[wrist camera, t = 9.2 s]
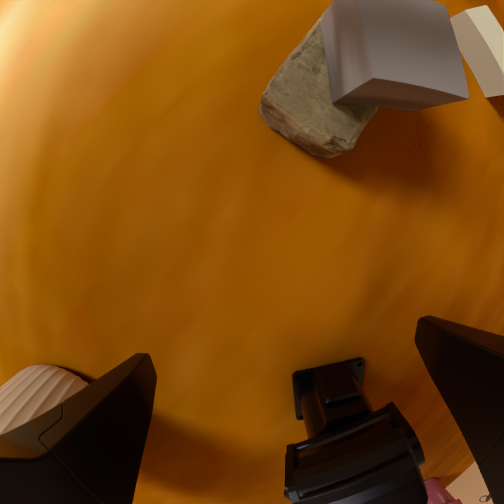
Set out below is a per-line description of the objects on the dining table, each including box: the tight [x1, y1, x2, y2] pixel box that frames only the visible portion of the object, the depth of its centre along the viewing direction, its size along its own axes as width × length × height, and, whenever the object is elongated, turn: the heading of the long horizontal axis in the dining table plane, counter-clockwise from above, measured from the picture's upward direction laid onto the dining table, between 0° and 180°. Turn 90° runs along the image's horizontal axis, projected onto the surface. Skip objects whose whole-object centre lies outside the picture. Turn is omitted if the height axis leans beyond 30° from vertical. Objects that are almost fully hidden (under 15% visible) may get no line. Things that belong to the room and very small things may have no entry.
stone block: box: [258, 2, 379, 159], centre depth 14 cm, size 6×12×5 cm, turn 149°
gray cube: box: [320, 0, 469, 111], centre depth 10 cm, size 5×5×5 cm
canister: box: [0, 364, 89, 435], centre depth 14 cm, size 18×18×21 cm
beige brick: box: [450, 5, 504, 97], centre depth 13 cm, size 8×5×4 cm, turn 36°
